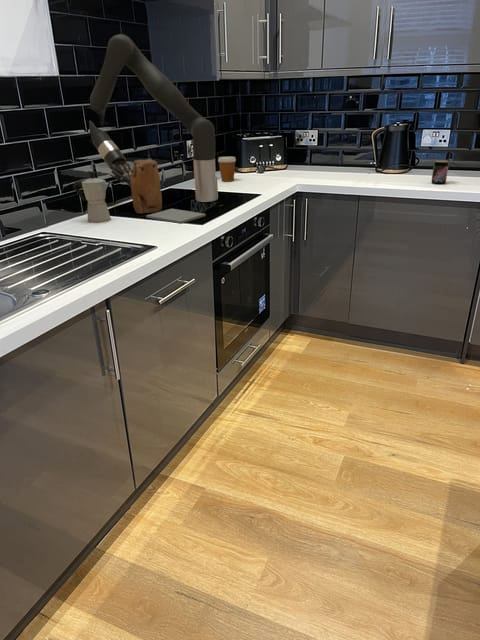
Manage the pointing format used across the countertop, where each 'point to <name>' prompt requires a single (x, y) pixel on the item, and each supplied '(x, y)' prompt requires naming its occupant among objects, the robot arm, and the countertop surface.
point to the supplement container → (440, 172)
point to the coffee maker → (94, 198)
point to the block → (146, 187)
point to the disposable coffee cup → (227, 168)
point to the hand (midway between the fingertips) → (135, 188)
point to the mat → (176, 215)
